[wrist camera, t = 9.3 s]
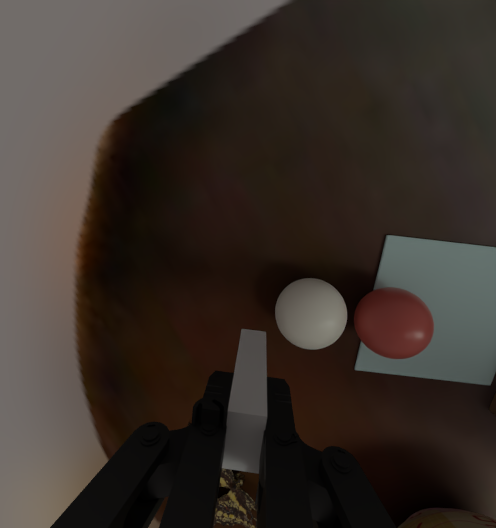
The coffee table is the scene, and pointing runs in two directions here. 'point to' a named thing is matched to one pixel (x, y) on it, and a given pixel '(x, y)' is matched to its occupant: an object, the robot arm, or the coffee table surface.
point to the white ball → (311, 313)
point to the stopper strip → (493, 405)
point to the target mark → (443, 308)
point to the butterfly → (233, 502)
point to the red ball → (393, 323)
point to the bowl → (447, 519)
